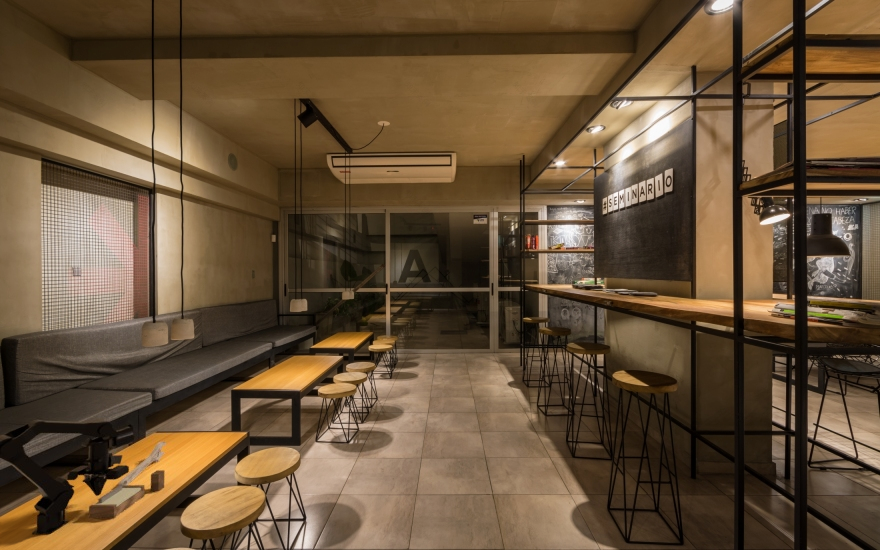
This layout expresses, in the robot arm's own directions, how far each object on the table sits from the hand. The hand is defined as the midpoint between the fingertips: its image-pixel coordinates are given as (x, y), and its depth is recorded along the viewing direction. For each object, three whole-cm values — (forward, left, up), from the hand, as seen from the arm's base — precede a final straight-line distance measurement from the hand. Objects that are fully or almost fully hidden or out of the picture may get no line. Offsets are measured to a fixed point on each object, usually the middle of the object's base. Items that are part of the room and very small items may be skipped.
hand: (98, 495), depth 141 cm
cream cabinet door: (0, -8, -1) cm, 8 cm away
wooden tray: (0, -8, -4) cm, 9 cm away
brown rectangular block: (+12, -14, -5) cm, 19 cm away
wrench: (+28, +4, -5) cm, 28 cm away
